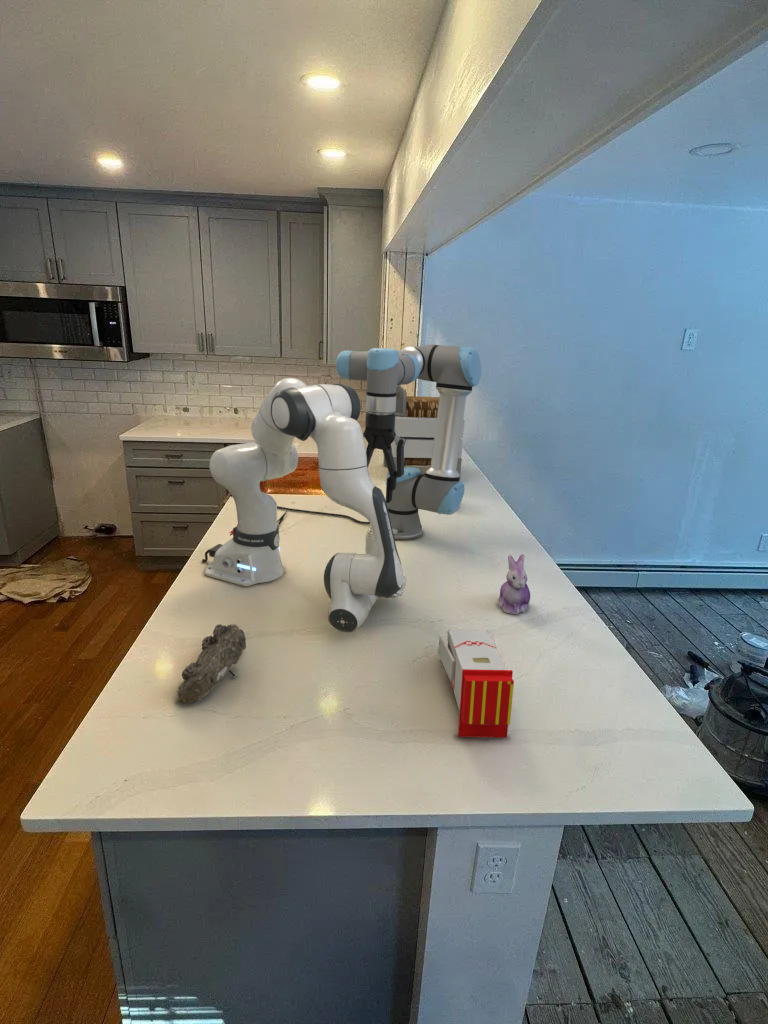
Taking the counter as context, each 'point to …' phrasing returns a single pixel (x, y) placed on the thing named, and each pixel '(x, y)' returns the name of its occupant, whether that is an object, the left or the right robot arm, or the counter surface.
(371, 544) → the bottle
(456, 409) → the right robot arm
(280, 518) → the feather
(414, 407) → the grey slatted crate
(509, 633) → the counter surface
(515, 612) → the figurine
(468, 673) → the toy
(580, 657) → the counter surface
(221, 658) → the fossil
